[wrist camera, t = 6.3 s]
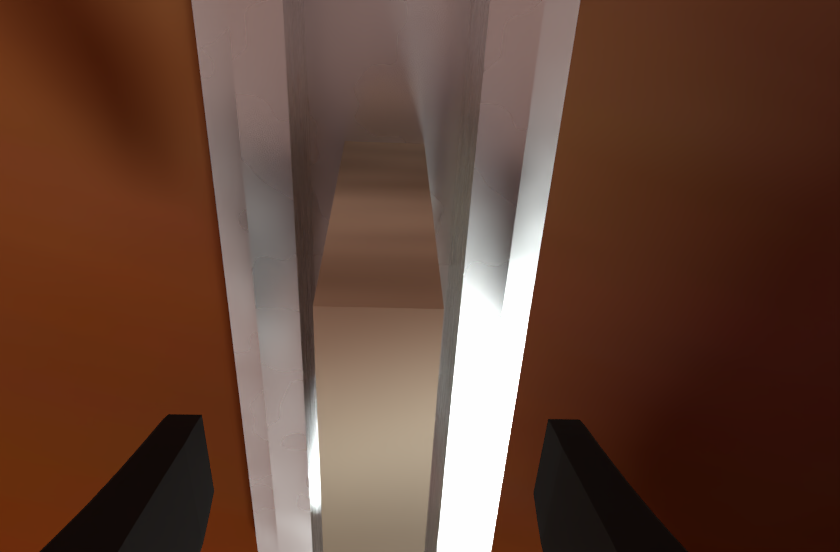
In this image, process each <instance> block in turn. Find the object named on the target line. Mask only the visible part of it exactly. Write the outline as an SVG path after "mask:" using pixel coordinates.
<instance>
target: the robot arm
mask: <svg viewBox="0 0 840 552" xmlns="http://www.w3.org/2000/svg"><path fill="white" fill-rule="evenodd" d="M213 493H214V488H213V482H212V475H211V469H210V463H209V457H208V451H207V445H206V439H205V432H204V426H203V420H202V415H171V414H169V415H167V416H166V417H165V418H164V419H163V420H162V421H161V422H160V424H159V425H158V426H157V427H156V428H155V429H154V431H153V432H152V433H151V434H150V435H149V436H148V438H147V439H146V440H145V441H144V442H143V443H142V445H141V446H140V447H139V448H138V449H137V450H136V452H135V453H134V454H133V455H132V456H131V457H130V458H129V459H128V461H127V462H126V463H125V464H124V465H123V466H122V467H121V469H120V470H119V471H118V472H117V473H116V474H115V475H114V476H113V477H112V478H111V479H110V481H109V482H108V483H107V484H106V485H105V486H104V487H103V488H102V489H101V490H100V491H99V492H98V493H97V495H96V496H95V497H94V498H93V499H92V500H91V501H90V502H89V503H88V504H87V505H86V506H85V507H84V508H83V509H82V510H81V511H80V512H79V513H78V514H77V515H76V516H75V517H74V518H73V519H72V520H71V521H70V522H69V523H68V524H67V525H66V526H65V527H64V528H63V529H62V530H61V531H60V532H59V533H58V534H57V535H56V536H55V537H54V538H53V539H52V540H51V541H50V542H49V543H48V544H47V545H46V546H45V547H44V548H43V549H42V550H41V551H40V552H200V551H201V548H202V545H203V541H204V536H205V532H206V527H207V523H208V518H209V513H210V508H211V503H212V498H213ZM534 499H535V506H536V513H537V521H538V527H539V533H540V539H541V545H542V549H543V552H688V551H687V550H686V549H685V548H684V547H683V546H682V545H681V544H680V543H679V542H678V540H677V539H676V538H675V537H674V536H673V535H672V534H671V533H670V532H669V531H668V529H667V528H666V527H665V526H664V525H663V524H662V523H661V521H660V520H659V519H658V518H657V517H656V516H655V515H654V513H653V512H652V511H651V510H650V509H649V507H648V506H647V505H646V504H645V503H644V501H643V500H642V499H641V498H640V497H639V495H638V494H637V493H636V492H635V491H634V489H633V488H632V487H631V486H630V484H629V483H628V482H627V481H626V479H625V478H624V477H623V476H622V474H621V473H620V472H619V470H618V469H617V468H616V466H615V465H614V464H613V463H612V461H611V460H610V459H609V457H608V456H607V455H606V453H605V452H604V451H603V449H602V448H601V447H600V445H599V444H598V443H597V441H596V440H595V439H594V437H593V436H592V435H591V433H590V432H589V431H588V429H587V428H586V427H585V425H584V424H583V423H582V422H581V421H580V420H563V419H548V424H547V429H546V434H545V438H544V443H543V448H542V453H541V458H540V463H539V468H538V473H537V478H536V483H535V488H534Z"/></svg>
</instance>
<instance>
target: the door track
mask: <svg viewBox="0 0 840 552" xmlns="http://www.w3.org/2000/svg"><path fill="white" fill-rule="evenodd" d="M191 1H192V9H193V18H194V26H195V34H196V42H197V51H198V59H199V67H200V75H201V84H202V92H203V100H204V108H205V117H206V125H207V133H208V142H209V150H210V158H211V166H212V175H213V183H214V191H215V199H216V208H217V216H218V224H219V232H220V241H221V249H222V257H223V266H224V274H225V282H226V290H227V299H228V307H229V315H230V323H231V332H232V340H233V348H234V357H235V365H236V373H237V381H238V390H239V398H240V406H241V414H242V423H243V431H244V439H245V447H246V456H247V464H248V472H249V481H250V489H251V497H252V505H253V514H254V522H255V530H256V538H257V547H258V552H323V537H322V513H321V490H320V466H319V442H318V419H317V395H316V372H315V348H314V325H313V302H314V297H315V292H316V287H317V282H318V276H319V271H320V266H321V261H322V256H323V251H324V245H325V240H326V235H327V230H328V225H329V220H330V215H331V209H332V204H333V199H334V194H335V189H336V184H337V178H338V173H339V168H340V163H341V158H342V153H343V148H344V142H345V141H355V142H384V143H412V144H424V145H425V154H426V162H427V170H428V179H429V187H430V196H431V204H432V212H433V221H434V229H435V238H436V246H437V254H438V263H439V271H440V280H441V288H442V296H443V305H444V315H443V328H442V340H441V352H440V365H439V377H438V389H437V402H436V414H435V426H434V439H433V451H432V463H431V476H430V488H429V500H428V513H427V525H426V537H425V550H424V552H491V546H492V540H493V534H494V528H495V522H496V516H497V510H498V503H499V497H500V491H501V485H502V479H503V473H504V467H505V460H506V454H507V448H508V442H509V436H510V430H511V424H512V417H513V411H514V405H515V399H516V393H517V387H518V381H519V374H520V368H521V362H522V356H523V350H524V344H525V338H526V331H527V325H528V319H529V313H530V307H531V301H532V295H533V288H534V282H535V276H536V270H537V264H538V258H539V252H540V245H541V239H542V233H543V227H544V221H545V215H546V209H547V202H548V196H549V190H550V184H551V178H552V172H553V166H554V159H555V153H556V147H557V141H558V135H559V129H560V123H561V116H562V110H563V104H564V98H565V92H566V86H567V80H568V73H569V67H570V61H571V55H572V49H573V43H574V37H575V30H576V24H577V18H578V12H579V6H580V0H191Z"/></svg>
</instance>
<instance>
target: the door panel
mask: <svg viewBox="0 0 840 552" xmlns="http://www.w3.org/2000/svg"><path fill="white" fill-rule="evenodd" d="M443 315H444V305H443V296H442V288H441V280H440V271H439V263H438V254H437V246H436V238H435V229H434V221H433V212H432V204H431V196H430V187H429V179H428V170H427V162H426V154H425V145H424V144H412V143H384V142H355V141H345V142H344V148H343V153H342V158H341V163H340V168H339V173H338V178H337V184H336V189H335V194H334V199H333V204H332V209H331V215H330V220H329V225H328V230H327V235H326V240H325V245H324V251H323V256H322V261H321V266H320V271H319V276H318V282H317V287H316V292H315V297H314V302H313V325H314V348H315V372H316V395H317V419H318V442H319V466H320V490H321V513H322V537H323V552H424V550H425V537H426V525H427V513H428V500H429V488H430V476H431V463H432V451H433V439H434V426H435V414H436V402H437V389H438V377H439V365H440V352H441V340H442V328H443Z"/></svg>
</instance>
